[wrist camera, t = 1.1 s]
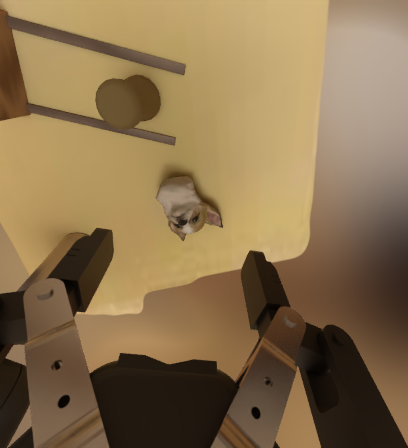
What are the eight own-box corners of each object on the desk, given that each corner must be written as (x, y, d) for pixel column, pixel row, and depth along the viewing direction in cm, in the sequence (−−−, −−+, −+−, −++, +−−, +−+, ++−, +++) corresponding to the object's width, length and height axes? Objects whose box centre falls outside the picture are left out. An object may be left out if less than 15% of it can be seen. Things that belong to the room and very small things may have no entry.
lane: (174, 147, 36) (165, 164, 29) (14, 110, 33) (-42, 119, 26) (185, 61, 29) (178, 55, 22) (-15, 5, 26) (-101, -23, 19)
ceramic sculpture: (193, 178, 30) (228, 246, 38) (194, 156, 37) (224, 217, 45) (132, 203, 33) (177, 261, 41) (144, 178, 39) (181, 233, 48)
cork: (115, 76, 30) (77, 75, 21) (156, 73, 30) (134, 71, 21) (127, 122, 34) (98, 137, 25) (163, 119, 34) (148, 134, 25)
